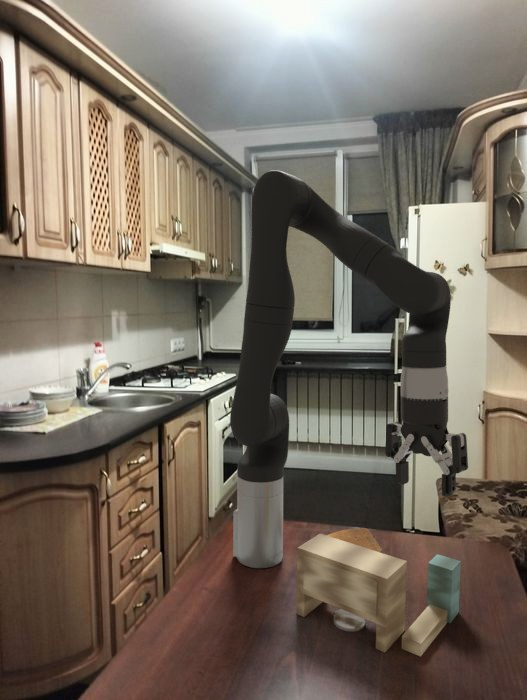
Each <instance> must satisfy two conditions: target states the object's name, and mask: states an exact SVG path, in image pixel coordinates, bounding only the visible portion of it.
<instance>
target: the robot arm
mask: <svg viewBox="0 0 527 700" xmlns="http://www.w3.org/2000/svg"><path fill="white" fill-rule="evenodd" d="M250 207H251V211H250V212H251V213H250V214H251V215H250V216H251V217H250V219H251V224H250V225H251V231H250V232H251V235H250V236H251V239H250V245H251V246H250V260H249V268H248V269H249V270H248V272H249V273H248V280H247V281H248V283H247V291H246V293H247V294H246V299H245V308H244V318H243V333H242V342H241V349H240V350H241V351H240V357H239V368H238V374H237V378H236V384H235V389H234V394H233V399H232V404H231V408H230V409H231V410H230V417H229V424H230V428H231V432H232V435H233V437H234V438H235V440H236V441H237V442H238V443H239V444H241V445H243V446H246V449H245V452H244V453H243V454H242V456H241V457H240V458H239V459H238V462H237V470H236V471H237V473H236V474H237V478H236V479H237V482H236V484H237V486H236V489H237V496H236V497H237V500H236V501H237V502H236V503H237V505H236V506H237V507H236V508H237V509H235V510H233V514H232V517H233V518H232V522H233V523H232V525H233V526H232V528H233V534H232V535H233V536H232V537H233V539H232V543H233V545H232V550H233V551H232V553H233V554H232V556H233V557H234V558H236V559H237V561H238V562H239V563H240V564H241V565H243V566H246V567H249V568H253V569H267V568H272V567H275V566H277V565H279V564H280V563H281V562H282V561H283V556H284V555H283V554H284V553H283V552H284V551H283V550H284V549H283V548H284V473H285V472H284V471H285V470H284V469H285V466H286V463H287V460H288V456H289V442H290V441H289V440H290V439H289V438H290V415H289V410H288V406H287V405H286V403H285V402H284V400H283V399H282V398H280V396H278V395H276V394H273V393H272V391H271V390H272V384H273V379H274V374H275V373H276V372H275V371H276V369H277V366H278V365H279V362H280V360H281V359H282V358H281V357H282V356H283V354H284V352H285V349H286V347H287V345H288V343H289V341H290V336H291V334H292V328H293V321H294V314H295V301H296V300H295V299H296V298H295V297H296V296H295V290H294V284H293V280H292V279H293V278H292V276H291V271H290V267H289V263H288V255H287V244H288V238H289V237H288V234H289V227H291V228H293V229H295V230H298V231H301V232H302V233H305V234H307V235H309V236H310V237H313V239H316V240H317V241H319V242H320V243H321V244H323V246H325V247H326V248H327V250H329V251H330V252H331V254H333V256H334V257H335V258H336V259H337V260H338V261H340V262H341V263H342V264H343V265H344V266H346V267H347V268H348V269H349V270H351V271H352V272H354V273H355V274H356V275H358V276H359V277H360V278H362V279H364V280H365V281H366V282H368V283H369V284H371V285H373V286H375V288H377V289H378V291H379V292H380V293H381V294H383V295H384V296H385V297H386V298H387V299H388V300H389V301H391V303H393V305H395V306H397V308H399V309H401V310H402V311H404V312H405V313H407V314H409V315H408V328H407V331H405V333H404V334H403V336H402V340H401V374H400V419H401V420H402V423H400V422H399V421H394V422H389V423H387V424H386V427H385V430H386V432H385V456H386V457H387V458H391V459H393V461H394V462H395V479H396V480H397V483H398V484H399V485H405V484H408V483H409V481H410V467H409V464H410V463H409V461H408V460H409V458H410V457H411V455H412V454H417V455H419V454H422V455H423V456H426V457H431V458H432V460H433V462H435V463H436V464H438V466H439V468H440V470H441V471H442V474H441V496H442V497H443V498H444V497H445V498H449V497H452V496H453V494H454V493H456V490H457V487H456V486H457V482H456V481H457V480H456V479H457V476H456V475H457V474H460V473H461V472H464V471H467V470H468V469H469V460H468V444H467V443H468V441H467V440H468V439H467V435H466V434H465V433H464V432H460V433H449V430H448V422H449V379H448V378H449V377H448V371H447V340H446V339H447V332H448V327H449V319H450V314H451V313H450V312H451V303H452V300H451V298H452V297H451V296H452V295H451V289H450V285H449V283H448V281H447V280H446V278H444V277H443V276H442V275H441V274H439V273H437V272H434V271H433V272H432V271H426V270H424V269H422V268H420V267H419V266H416V265H415V264H414V263H412V262H411V261H409V260H408V259H406V258H404V257H403V255H402V253H401V252H400V251H399V250H398V249H396V248H395V247H394V246H392V245H390V243H388V242H386V241H384V239H382V238H380V237H378V236H377V235H375V234H374V233H372V232H370V231H369V230H367V229H365V228H364V227H362V226H361V225H359V224H357V223H355V222H354V221H352V220H350V219H349V218H347V217H346V216H344V215H343V214H341V213H340V212H339V211H338V210H336V209H335V208H333V207H332V206H331V205H330V204H329V203H328V202H326V201H325V200H324V199H323V198H322V197H321V196H320V195H319V194H318V193H317V192H316V191H315V190H314V189H313V188H312V187H311V186H310V185H309V184H307V182H306V181H305V180H303V178H302V179H301V178H300V177H298V176H295V175H293V174H290V173H287V172H284V171H281V170H278V169H276V170H275V169H273V170H268V171H266V172H264V173H263V174H261V176H260V177H259V178H258V179H257V181H256V183H255V185H254V188H253V190H252V196H251V206H250ZM401 435H402V437H403V439H404V441H403V443H402V444H401ZM447 442H448V446H449V447H451V451H450V449H449V448H448V446H447ZM400 444H401V446H400Z"/></svg>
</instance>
